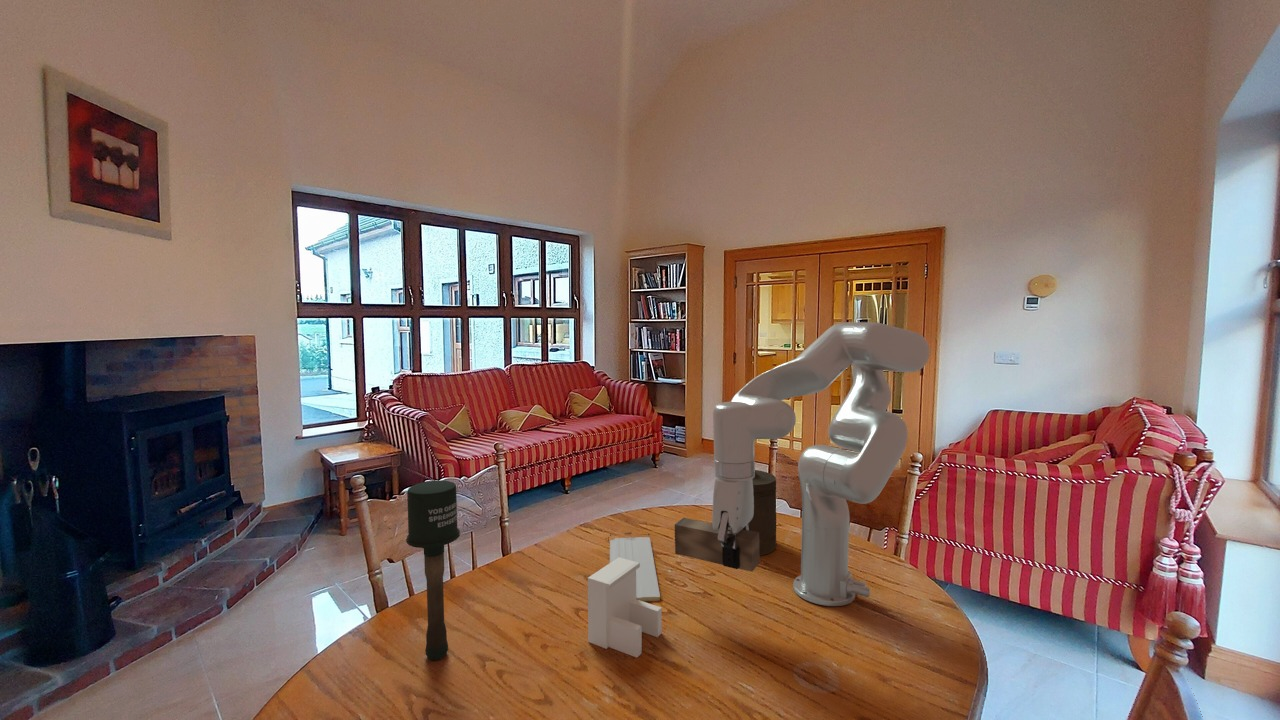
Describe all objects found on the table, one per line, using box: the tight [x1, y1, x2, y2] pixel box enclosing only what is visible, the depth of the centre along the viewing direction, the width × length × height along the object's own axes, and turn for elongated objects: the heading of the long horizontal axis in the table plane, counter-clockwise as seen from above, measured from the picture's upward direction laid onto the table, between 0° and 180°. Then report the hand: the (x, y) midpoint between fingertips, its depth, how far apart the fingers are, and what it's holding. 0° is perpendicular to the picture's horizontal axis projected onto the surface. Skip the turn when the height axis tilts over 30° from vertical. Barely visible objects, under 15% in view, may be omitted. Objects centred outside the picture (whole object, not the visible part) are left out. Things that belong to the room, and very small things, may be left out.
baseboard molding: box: [605, 531, 661, 602], centre depth 128 cm, size 31×3×12 cm
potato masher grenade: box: [405, 480, 461, 661], centre depth 93 cm, size 8×9×30 cm
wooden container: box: [749, 469, 777, 556], centre depth 140 cm, size 15×15×22 cm
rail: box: [674, 517, 761, 573], centre depth 105 cm, size 16×4×6 cm, turn 58°
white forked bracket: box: [587, 557, 663, 658], centre depth 99 cm, size 10×10×12 cm
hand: (735, 560), depth 103 cm, fingers closed on rail, 4 cm apart
